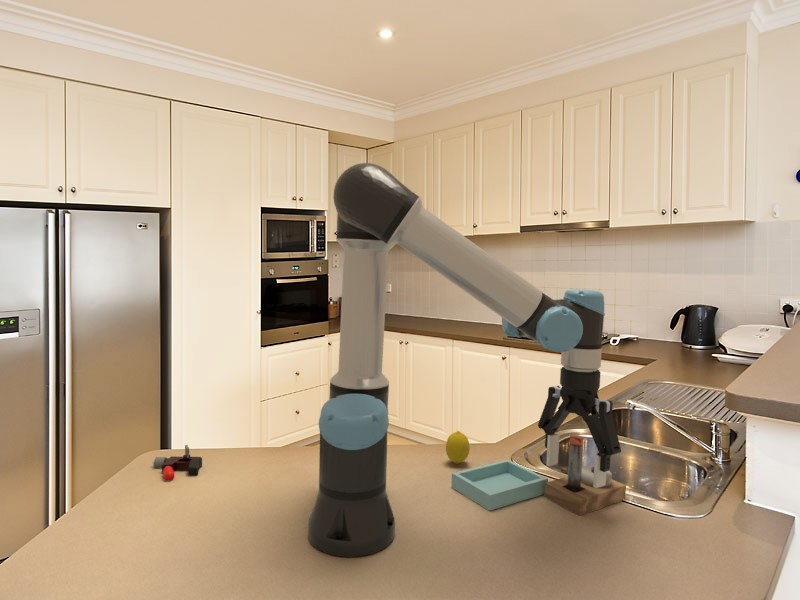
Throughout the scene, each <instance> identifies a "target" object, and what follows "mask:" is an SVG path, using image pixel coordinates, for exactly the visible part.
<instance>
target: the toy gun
mask: <svg viewBox="0 0 800 600" xmlns="http://www.w3.org/2000/svg"><path fill="white" fill-rule="evenodd" d="M151 464H153V468H154V469H161V470H162V472H161V473H162V475H163V478H164V480H165V481H167V482H170V481H172V480H174V479H175V474H176V473H175V472H188V473H187V474H188V477H197V476H198V475H199V471H200V469H201V468H202V467H203V457H202V456H191V454H190V447H189V445H188V444H186V445H184V455H182V456H174V455H173V456H170V457H166V456H164V457H163V456H156V457H155V458H154V461H152V462H151Z"/></svg>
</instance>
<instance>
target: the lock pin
mask: <svg viewBox="0 0 800 600" xmlns="http://www.w3.org/2000/svg"><path fill="white" fill-rule="evenodd" d="M583 457H584V437H583V436H582V435H577V434H571V435H569V449H568V462H567V463H568V467H567V476H568V482H567V489H568V490H570V491H572V492H574V493H576V492H579V491H581V475H582V467H583Z"/></svg>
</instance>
